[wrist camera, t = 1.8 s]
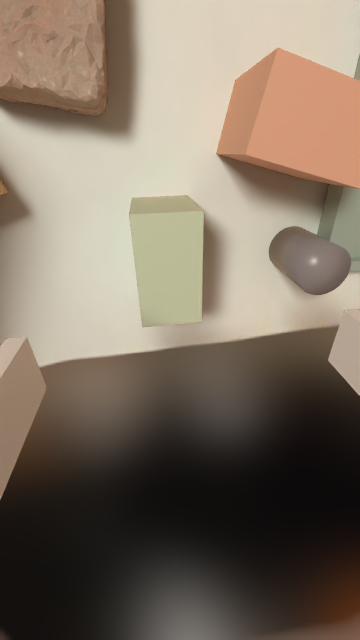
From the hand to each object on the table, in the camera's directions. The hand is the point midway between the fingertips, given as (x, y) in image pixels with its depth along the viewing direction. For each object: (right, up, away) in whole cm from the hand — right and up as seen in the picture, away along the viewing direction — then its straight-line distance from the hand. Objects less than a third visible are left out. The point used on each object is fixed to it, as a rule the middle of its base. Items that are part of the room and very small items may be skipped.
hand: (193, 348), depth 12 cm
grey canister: (+10, +8, +14) cm, 19 cm away
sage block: (-2, +8, +13) cm, 15 cm away
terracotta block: (+7, +15, +9) cm, 19 cm away
